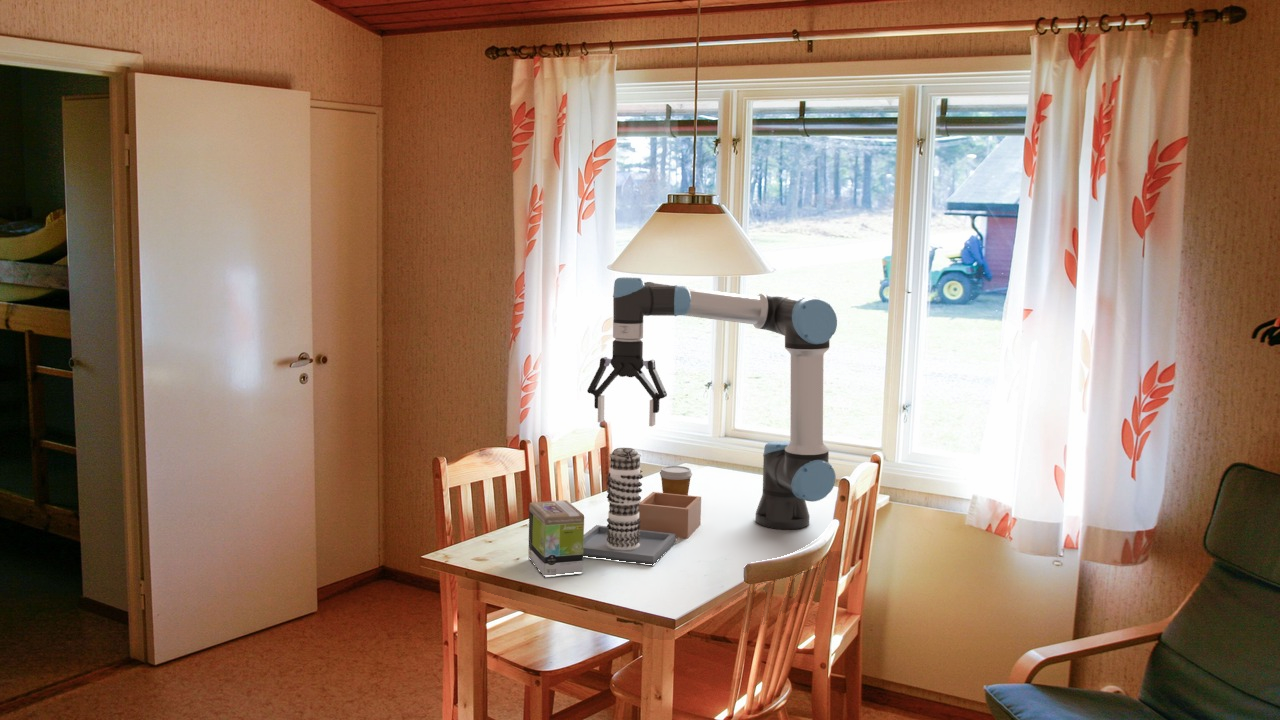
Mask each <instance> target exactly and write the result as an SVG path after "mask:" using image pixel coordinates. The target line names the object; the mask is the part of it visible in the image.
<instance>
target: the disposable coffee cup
mask: <svg viewBox="0 0 1280 720" xmlns="http://www.w3.org/2000/svg"><path fill="white" fill-rule="evenodd" d="M660 469H661V470H660V471H659V475H660V480H661V488H662V493H669V494H679V495H689V492H690V484H691V478H692V476H693V473H692V469H691V468H690V467H687V466H682V465H667V466H662V468H660Z"/></svg>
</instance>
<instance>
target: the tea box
mask: <svg viewBox="0 0 1280 720" xmlns="http://www.w3.org/2000/svg"><path fill="white" fill-rule="evenodd" d="M528 506H529V509H528V518H529V519H528V559H529V558H530V559H531V561H532V562H533V563H534V564H535V566H536V567H537V568H538V569H539V570H540V572H541V573H542V574H543V575H556V574H565V573H574V572H584V571H583V570H584V558H583V542H584V534H585V515H584V514H583V513H582V511H580V510H578V508H577V507H575V506H574V505H573V504H572V503H570V502H569V501H568V500H563V499H562V500H552V501H550V500H549V501H536V502H535V501H534V502H533V501H532V502H529V505H528ZM531 561H530V562H531ZM532 562H531V563H532ZM535 566H534V567H535ZM536 567H535V568H536ZM537 568H536V569H537ZM540 572H539V573H540ZM541 573H540V574H541ZM542 574H541V575H542Z"/></svg>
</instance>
